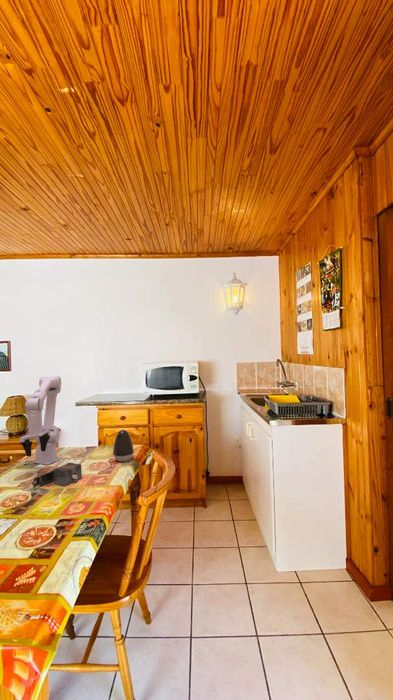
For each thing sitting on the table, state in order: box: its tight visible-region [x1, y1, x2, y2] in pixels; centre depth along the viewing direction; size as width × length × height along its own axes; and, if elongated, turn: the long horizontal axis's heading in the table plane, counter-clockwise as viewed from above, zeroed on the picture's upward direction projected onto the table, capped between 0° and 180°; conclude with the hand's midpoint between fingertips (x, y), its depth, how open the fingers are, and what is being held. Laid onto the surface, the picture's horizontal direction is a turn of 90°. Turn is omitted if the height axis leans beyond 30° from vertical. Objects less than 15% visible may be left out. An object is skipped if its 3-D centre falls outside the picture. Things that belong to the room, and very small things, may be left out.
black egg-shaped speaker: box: [112, 429, 135, 463], centre depth 162 cm, size 10×10×15 cm
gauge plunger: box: [32, 469, 78, 487], centre depth 136 cm, size 12×20×4 cm, turn 155°
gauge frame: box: [20, 462, 83, 496], centre depth 135 cm, size 15×18×6 cm
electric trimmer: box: [31, 476, 40, 486], centre depth 140 cm, size 4×16×3 cm, turn 146°
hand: (36, 453), depth 147 cm, fingers open, 7 cm apart
